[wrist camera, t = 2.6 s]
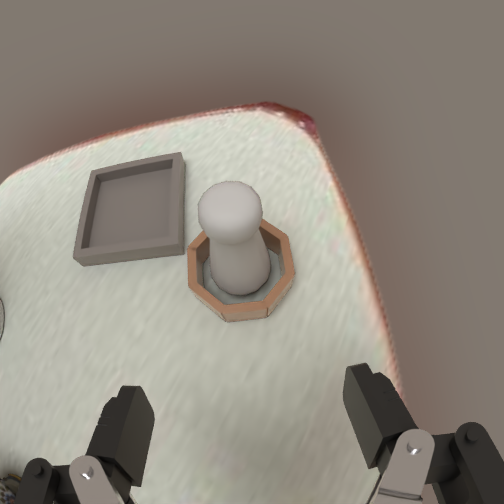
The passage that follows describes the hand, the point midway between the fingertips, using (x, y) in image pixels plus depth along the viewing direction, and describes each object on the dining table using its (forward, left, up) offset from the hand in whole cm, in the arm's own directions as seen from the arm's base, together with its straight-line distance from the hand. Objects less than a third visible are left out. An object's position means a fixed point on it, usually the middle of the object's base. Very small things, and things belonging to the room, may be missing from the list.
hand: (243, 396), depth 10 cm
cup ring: (0, +11, -16) cm, 20 cm away
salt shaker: (0, +11, -17) cm, 20 cm away
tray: (-13, +21, -16) cm, 29 cm away
